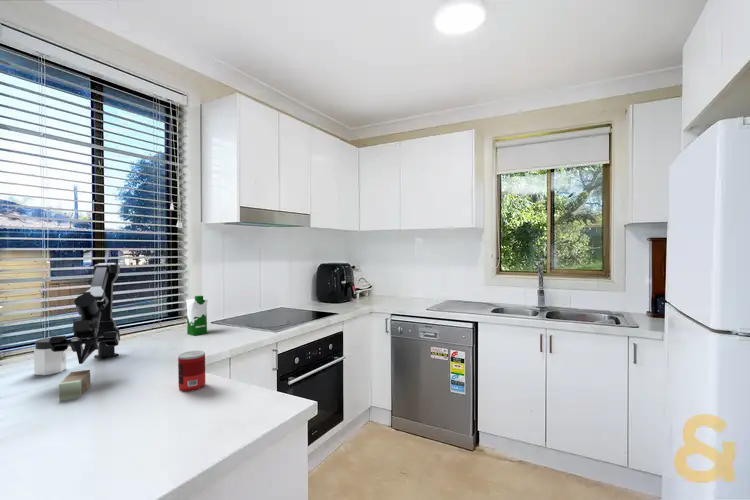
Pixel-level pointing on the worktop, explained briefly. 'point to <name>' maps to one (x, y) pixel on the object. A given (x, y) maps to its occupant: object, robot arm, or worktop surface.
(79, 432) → the worktop surface
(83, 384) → the green and tan block
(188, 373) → the canned food
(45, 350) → the jar
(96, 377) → the worktop surface
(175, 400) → the worktop surface
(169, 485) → the worktop surface
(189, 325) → the milk carton
